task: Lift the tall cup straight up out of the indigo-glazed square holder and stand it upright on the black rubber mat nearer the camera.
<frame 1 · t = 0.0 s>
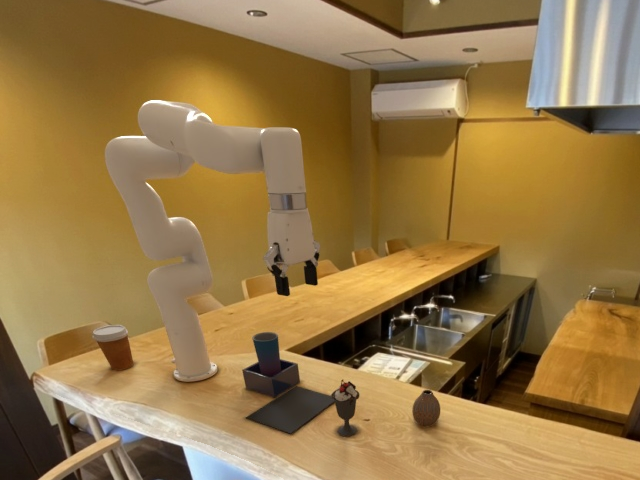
hand: (298, 289, 94), 31 cm above the counter, tool pointing down, fingers open, 9 cm apart
sundae: (347, 431, 103), on the counter
cup: (273, 386, 123), resting in holder
holder: (273, 385, 123), on the counter
vase: (425, 423, 106), on the counter
disposable coffee cup: (123, 366, 135), on the counter
mat: (293, 408, 112), on the counter
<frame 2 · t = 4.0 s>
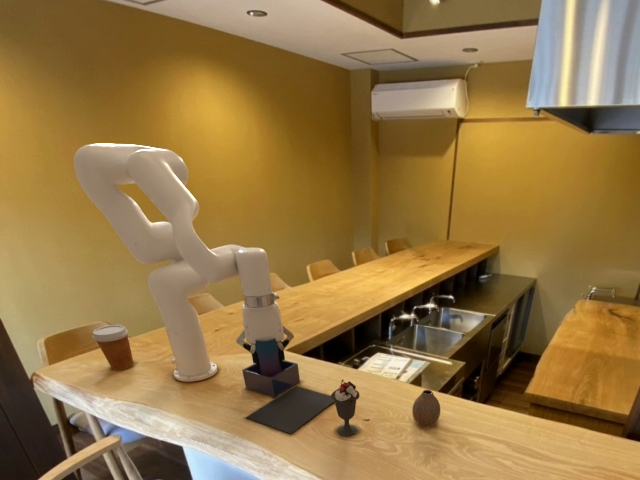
hand: (269, 363, 119), 7 cm above the counter, tool pointing down, fingers closed on cup, 6 cm apart
cup: (273, 386, 123), resting in holder, touching gripper
everything else where it was.
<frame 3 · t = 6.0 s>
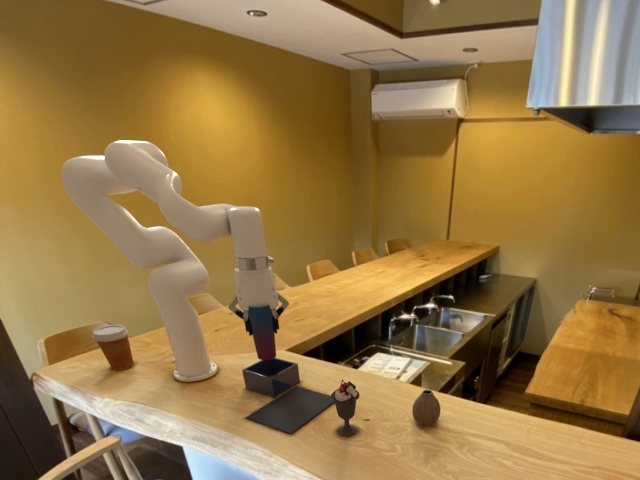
hand: (263, 332, 114), 16 cm above the counter, tool pointing down, fingers closed on cup, 6 cm apart
cup: (267, 357, 118), point 9 cm above the counter, touching gripper
everything else where it was.
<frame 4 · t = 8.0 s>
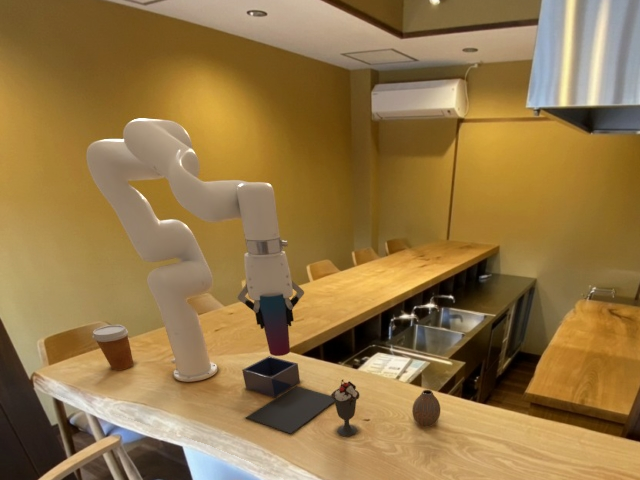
hand: (275, 325, 103), 22 cm above the counter, tool pointing down, fingers closed on cup, 6 cm apart
cup: (280, 352, 107), point 14 cm above the counter, touching gripper
everything else where it was.
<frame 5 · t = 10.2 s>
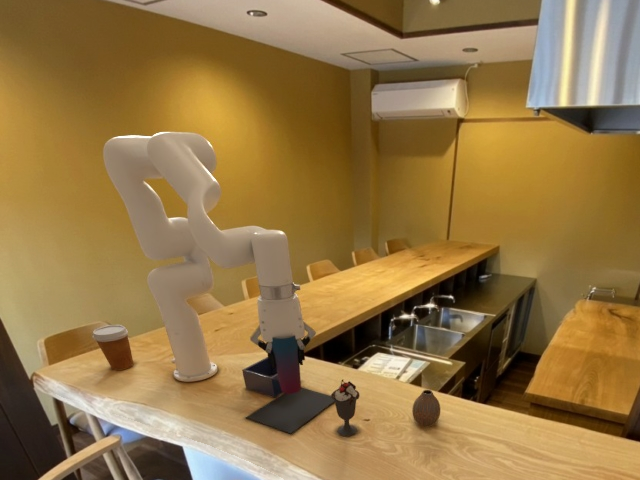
hand: (287, 363, 104), 13 cm above the counter, tool pointing down, fingers closed on cup, 6 cm apart
cup: (291, 389, 109), point 6 cm above the counter, touching gripper
everything else where it was.
when the fingers open (7 cm above the counter, at t = 12.0 s): cup stays where it is, resting on mat.
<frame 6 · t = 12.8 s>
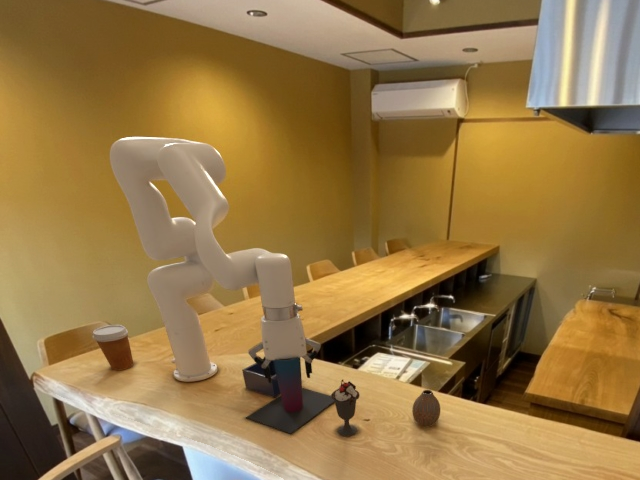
hand: (289, 378, 107), 9 cm above the counter, tool pointing down, fingers open, 9 cm apart
cup: (293, 407, 112), resting on mat
everything else where it was.
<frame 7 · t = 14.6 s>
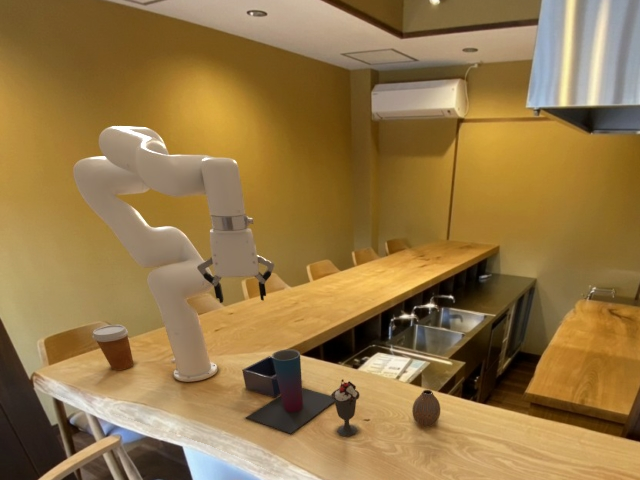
hand: (242, 300, 103), 27 cm above the counter, tool pointing down, fingers open, 9 cm apart
nothing on the counter moved.
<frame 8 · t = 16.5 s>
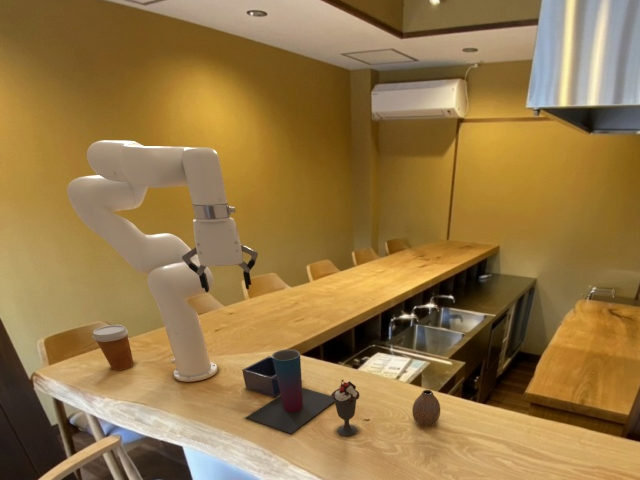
hand: (227, 289, 105), 28 cm above the counter, tool pointing down, fingers open, 9 cm apart
nothing on the counter moved.
at the end: cup inside the target area on the mat (0.1 cm from its centre), point 0.2 cm above the mat's base; cup tilted 0°; the gripper is holding nothing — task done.
